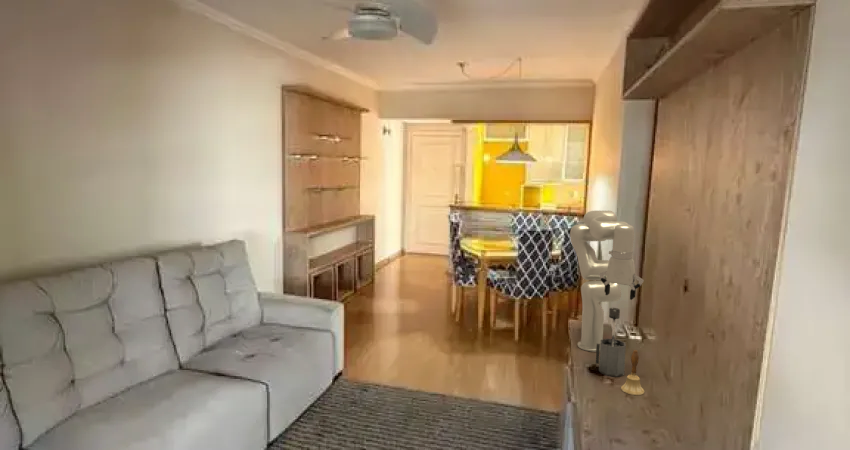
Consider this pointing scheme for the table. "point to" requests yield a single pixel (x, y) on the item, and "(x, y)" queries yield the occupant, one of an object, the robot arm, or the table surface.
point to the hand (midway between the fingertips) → (619, 296)
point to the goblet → (613, 314)
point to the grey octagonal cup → (611, 358)
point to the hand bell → (633, 378)
